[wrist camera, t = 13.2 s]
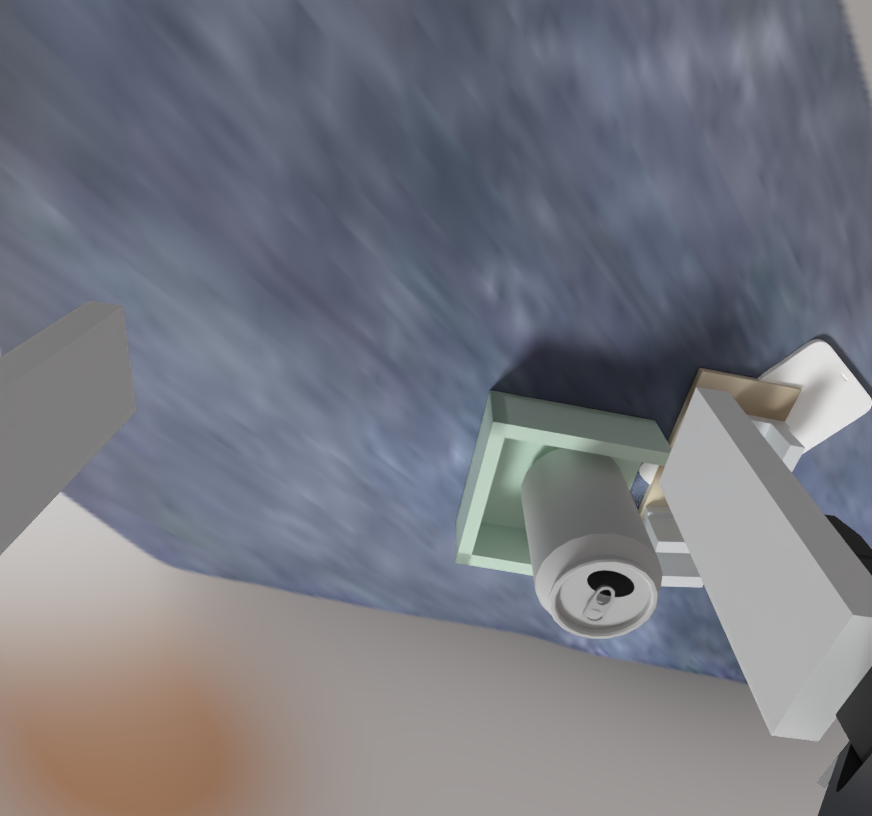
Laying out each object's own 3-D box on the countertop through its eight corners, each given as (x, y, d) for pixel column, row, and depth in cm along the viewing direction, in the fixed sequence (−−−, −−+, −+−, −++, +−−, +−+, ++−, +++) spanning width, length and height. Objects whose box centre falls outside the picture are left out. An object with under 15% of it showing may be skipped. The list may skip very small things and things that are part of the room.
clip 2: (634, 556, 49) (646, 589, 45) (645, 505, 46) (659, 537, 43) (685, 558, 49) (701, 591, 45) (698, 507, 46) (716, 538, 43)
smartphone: (633, 469, 45) (822, 335, 40) (631, 463, 46) (816, 331, 40) (691, 525, 48) (877, 406, 42) (688, 519, 48) (871, 401, 43)
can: (641, 461, 44) (698, 579, 34) (589, 535, 48) (626, 664, 37) (549, 424, 43) (578, 536, 33) (502, 503, 47) (515, 627, 36)
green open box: (489, 389, 43) (493, 421, 39) (654, 420, 44) (674, 454, 40) (455, 523, 48) (455, 562, 44) (602, 548, 49) (614, 589, 45)
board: (699, 367, 42) (702, 371, 41) (797, 386, 42) (801, 389, 41) (618, 555, 49) (619, 561, 49) (701, 569, 50) (703, 575, 49)
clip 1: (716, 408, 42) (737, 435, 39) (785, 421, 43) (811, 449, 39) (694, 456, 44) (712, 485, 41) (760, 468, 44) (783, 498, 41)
